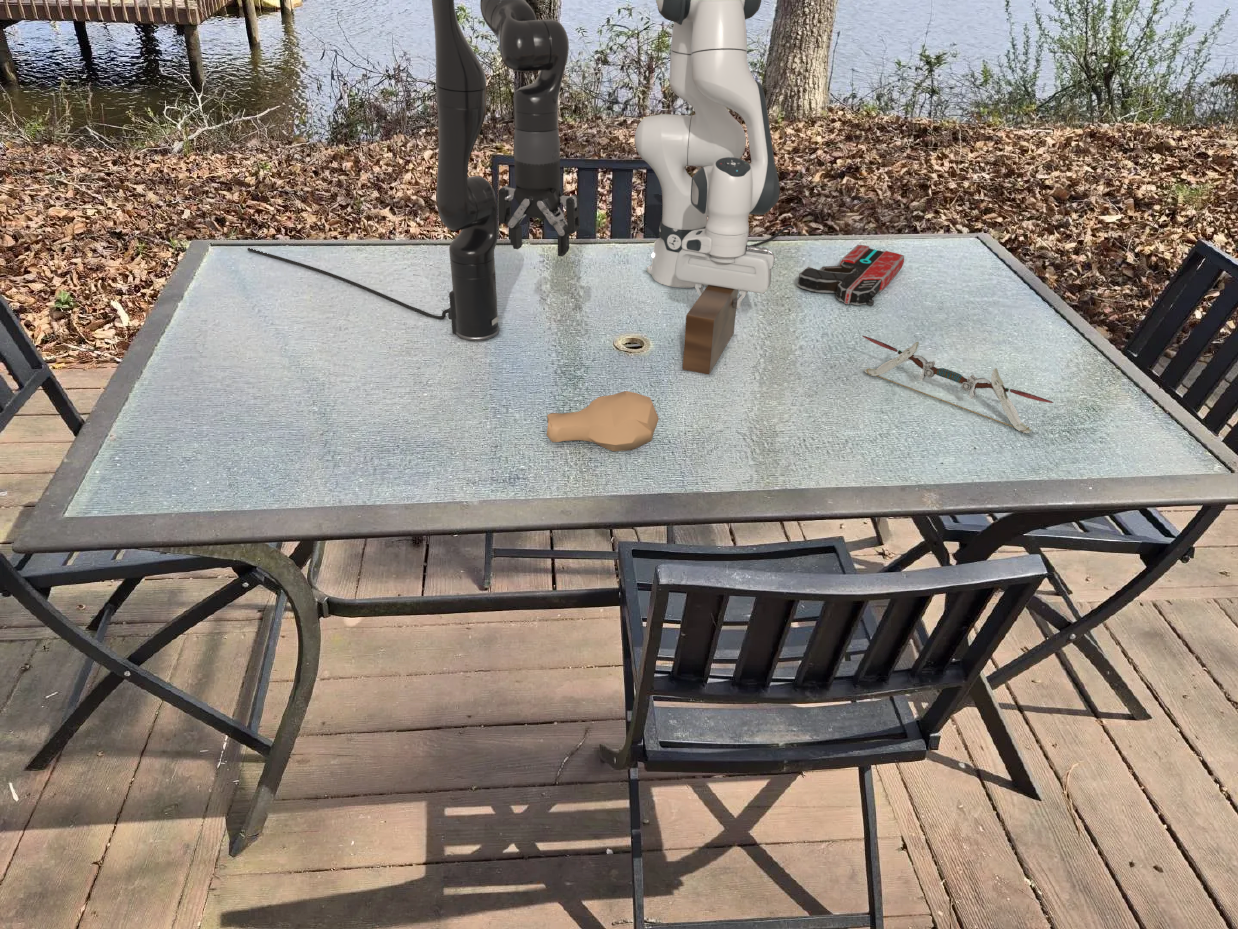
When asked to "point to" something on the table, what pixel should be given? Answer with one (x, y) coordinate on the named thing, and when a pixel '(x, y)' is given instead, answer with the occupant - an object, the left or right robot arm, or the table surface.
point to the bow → (967, 384)
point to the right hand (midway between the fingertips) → (719, 304)
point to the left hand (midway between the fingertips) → (539, 251)
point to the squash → (608, 422)
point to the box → (709, 328)
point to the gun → (854, 275)
